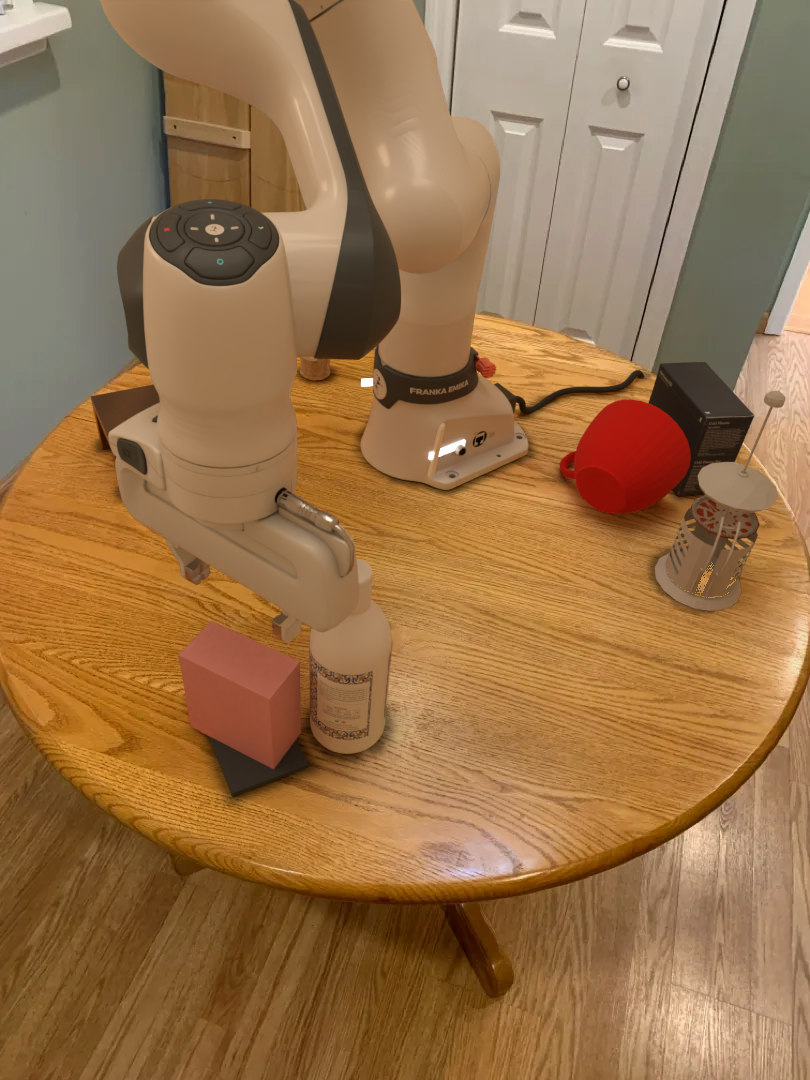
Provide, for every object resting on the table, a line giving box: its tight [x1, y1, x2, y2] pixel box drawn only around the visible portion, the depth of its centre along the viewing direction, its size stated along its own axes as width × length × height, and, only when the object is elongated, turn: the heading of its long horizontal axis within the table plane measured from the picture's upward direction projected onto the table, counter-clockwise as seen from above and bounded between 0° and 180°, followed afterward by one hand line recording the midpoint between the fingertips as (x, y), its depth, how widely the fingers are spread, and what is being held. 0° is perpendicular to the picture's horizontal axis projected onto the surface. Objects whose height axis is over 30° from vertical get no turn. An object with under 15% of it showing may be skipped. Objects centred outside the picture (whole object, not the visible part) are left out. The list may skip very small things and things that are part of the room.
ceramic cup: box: [559, 398, 691, 515], centre depth 103 cm, size 13×17×10 cm
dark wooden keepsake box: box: [90, 384, 160, 470], centre depth 104 cm, size 14×12×7 cm
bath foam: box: [308, 558, 393, 755], centre depth 72 cm, size 7×7×20 cm
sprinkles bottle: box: [299, 356, 332, 381], centre depth 119 cm, size 5×5×13 cm
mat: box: [207, 735, 309, 798], centre depth 77 cm, size 7×11×1 cm, turn 27°
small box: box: [648, 361, 755, 496], centre depth 109 cm, size 13×7×12 cm, turn 12°
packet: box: [178, 620, 302, 769], centre depth 73 cm, size 4×9×10 cm, turn 63°
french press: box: [654, 390, 786, 612], centre depth 88 cm, size 10×12×25 cm
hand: (240, 604), depth 65 cm, fingers open, 8 cm apart
